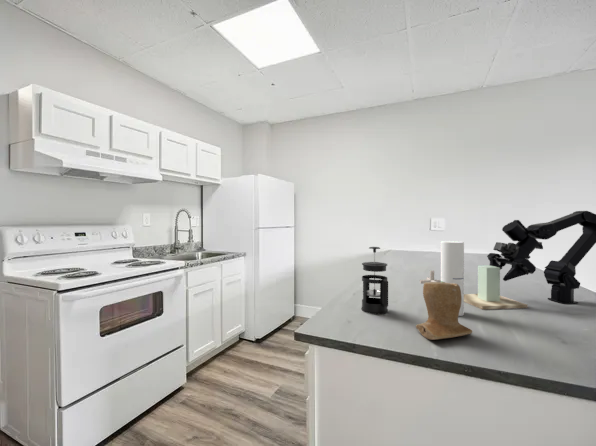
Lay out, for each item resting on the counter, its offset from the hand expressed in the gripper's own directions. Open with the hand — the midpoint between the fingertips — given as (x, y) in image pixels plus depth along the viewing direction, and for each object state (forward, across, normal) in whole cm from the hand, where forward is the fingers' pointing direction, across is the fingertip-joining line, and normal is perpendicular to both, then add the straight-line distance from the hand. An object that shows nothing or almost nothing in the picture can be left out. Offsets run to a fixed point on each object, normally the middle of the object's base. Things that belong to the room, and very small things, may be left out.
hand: (495, 277), depth 112 cm
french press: (+42, +8, -29) cm, 52 cm away
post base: (+9, 0, +5) cm, 10 cm away
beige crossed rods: (+20, -15, -6) cm, 25 cm away
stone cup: (+34, +30, -20) cm, 49 cm away
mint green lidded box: (+8, 0, +4) cm, 9 cm away
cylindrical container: (+24, +12, -10) cm, 28 cm away
